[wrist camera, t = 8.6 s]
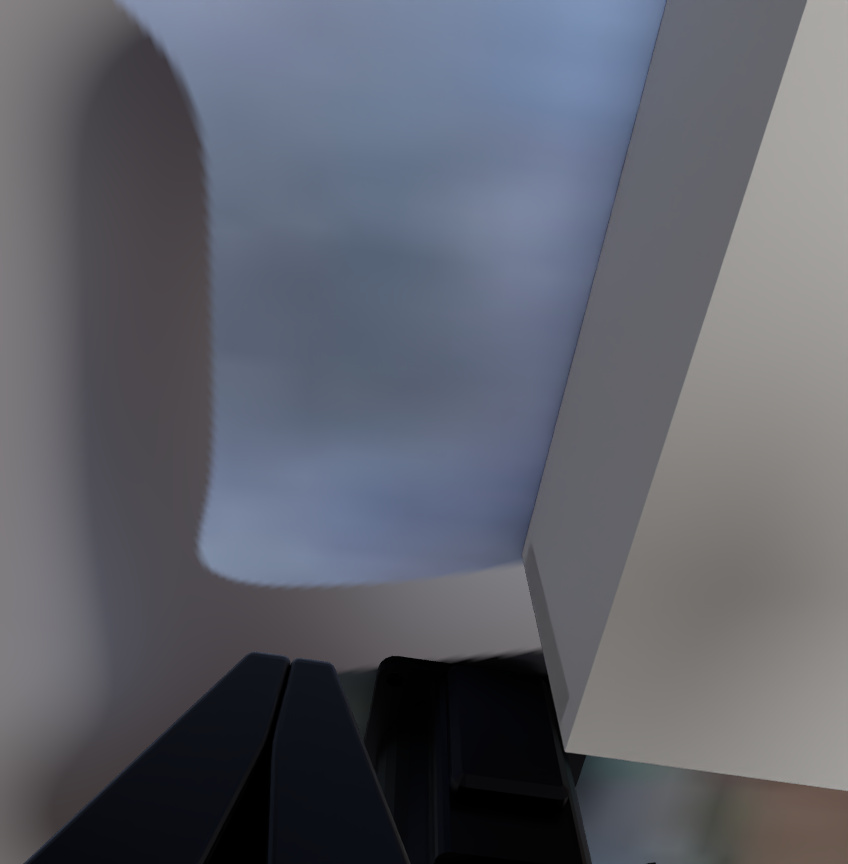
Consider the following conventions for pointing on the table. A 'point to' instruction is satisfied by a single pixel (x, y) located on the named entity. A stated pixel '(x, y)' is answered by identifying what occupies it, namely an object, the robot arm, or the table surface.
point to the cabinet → (712, 417)
